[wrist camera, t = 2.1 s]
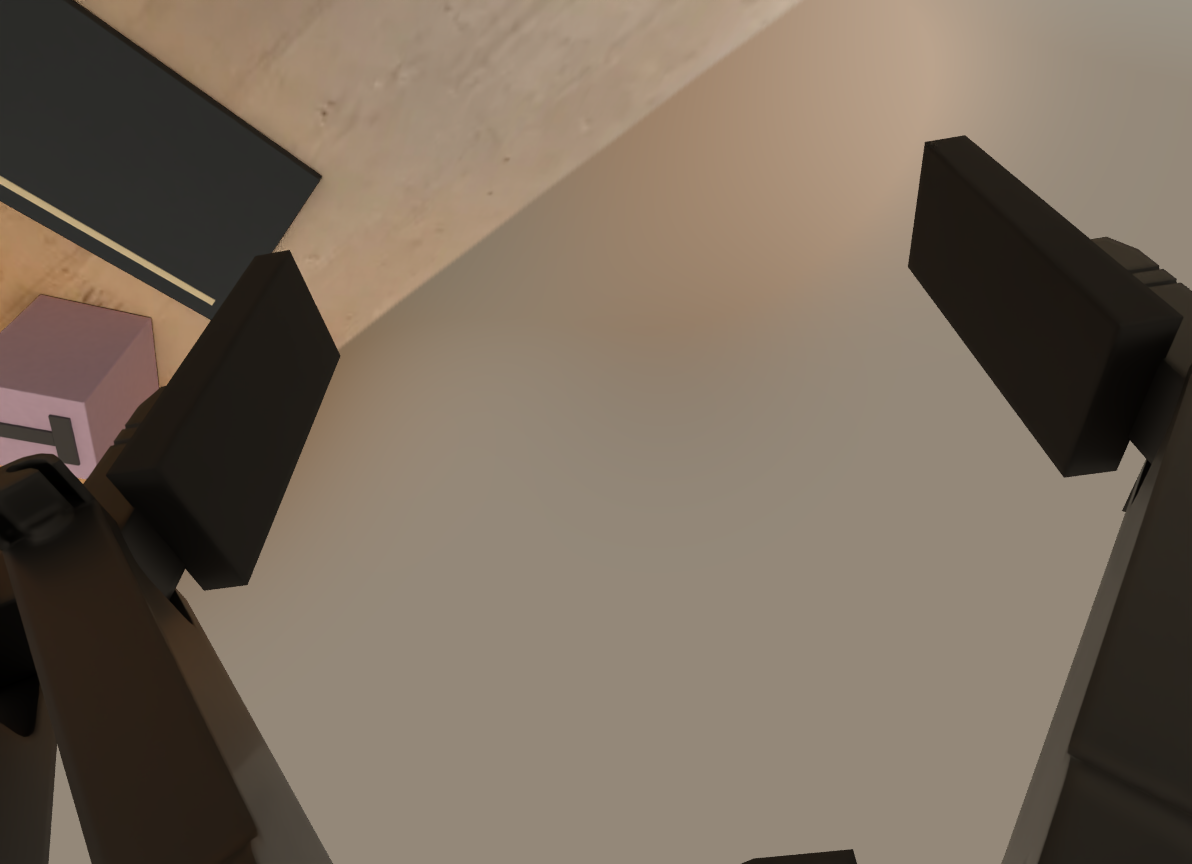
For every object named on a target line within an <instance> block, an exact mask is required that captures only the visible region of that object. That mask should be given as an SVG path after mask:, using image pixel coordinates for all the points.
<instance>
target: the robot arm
mask: <svg viewBox="0 0 1192 864" xmlns="http://www.w3.org/2000/svg"><path fill="white" fill-rule="evenodd" d="M908 268H909V269H910V270H911V272H912V273H913V274H914V276H915V277H916V278H917V280H918V281H919V282H920V284H921V285H922V286H923V288H924V289H925V290H926V292H927V293H928V295H929V296H930V297H931V299H932V300H933V301H934V303H935V304H936V305H937V307H938V308H939V309H940V311H941V312H942V313H943V315H944V316H945V318H946V319H947V320H948V321H949V323H950V324H951V326H952V327H953V328H954V329H955V331H956V332H957V334H958V335H959V336H960V338H961V339H962V340H963V341H964V343H965V345H966V346H967V347H968V349H969V350H970V351H971V353H972V354H973V355H974V357H975V358H976V359H977V361H978V362H979V363H980V365H981V366H982V367H983V369H984V370H985V371H986V373H987V374H988V376H989V377H990V378H991V380H992V381H993V382H994V384H995V385H996V386H997V388H998V389H999V390H1000V392H1001V393H1002V394H1003V396H1004V397H1005V399H1006V400H1007V401H1008V403H1009V404H1010V405H1011V407H1012V408H1013V409H1014V411H1015V412H1016V413H1017V415H1018V416H1019V417H1020V418H1021V420H1022V421H1023V423H1024V424H1025V426H1026V427H1027V428H1028V430H1029V431H1030V432H1031V434H1032V435H1033V436H1034V438H1035V439H1036V440H1037V442H1038V443H1039V444H1040V446H1041V447H1042V448H1043V450H1044V451H1045V453H1046V454H1047V455H1048V457H1049V458H1050V459H1051V461H1052V462H1053V463H1054V465H1055V466H1056V467H1057V469H1058V470H1059V471H1060V473H1061V474H1062V475H1063V477H1072V476H1079V475H1087V474H1095V473H1102V472H1110V471H1116V470H1117V468H1118V466H1119V464H1120V461H1121V459H1122V457H1123V455H1124V452H1125V450H1126V448H1127V445H1128V443H1129V441H1131V442H1132V443H1133V444H1134V445H1135V446H1136V447H1137V449H1138V450H1139V451H1140V452H1141V453H1142V454H1143V455H1144V456H1145V458H1146V461H1145V463H1144V465H1143V467H1142V469H1141V472H1140V474H1139V476H1138V478H1137V480H1136V482H1135V484H1134V487H1133V489H1132V491H1131V493H1130V495H1129V497H1128V499H1127V501H1126V504H1125V506H1124V508H1123V510H1122V511H1124V512H1126V513H1125V516H1124V518H1123V521H1122V524H1121V527H1120V530H1119V533H1118V535H1117V539H1116V541H1115V544H1114V547H1113V550H1112V553H1111V555H1110V558H1109V561H1108V564H1107V567H1106V569H1105V572H1104V575H1103V578H1102V581H1101V584H1100V587H1099V589H1098V592H1097V595H1096V598H1095V601H1094V603H1093V606H1092V609H1091V612H1090V615H1089V618H1088V621H1087V623H1086V626H1085V629H1084V632H1083V635H1082V637H1081V640H1080V643H1079V646H1078V649H1077V652H1076V654H1075V657H1074V660H1073V663H1072V666H1071V669H1070V671H1069V674H1068V677H1067V680H1066V683H1065V686H1064V689H1063V691H1062V694H1061V697H1060V700H1059V703H1058V705H1057V708H1056V711H1055V714H1054V717H1053V720H1052V722H1051V725H1050V728H1049V731H1048V734H1047V737H1046V740H1045V742H1044V745H1043V748H1042V751H1041V754H1040V756H1039V760H1038V763H1037V765H1036V768H1035V771H1034V773H1033V776H1032V780H1031V782H1030V785H1029V788H1028V790H1027V793H1026V796H1025V799H1024V802H1023V805H1022V808H1021V810H1020V813H1019V816H1018V819H1017V822H1016V825H1015V827H1014V830H1013V833H1012V836H1011V839H1010V841H1009V845H1008V847H1007V850H1006V853H1005V856H1004V858H1003V860H1002V863H1001V864H1192V291H1191V290H1190V289H1189V288H1187V287H1186V286H1184V285H1183V284H1182V283H1177V282H1176V278H1174V277H1173V276H1172V275H1171V274H1169V273H1168V272H1167V271H1165V270H1164V269H1159V265H1158V264H1156V263H1155V262H1154V261H1153V260H1151V259H1150V258H1149V257H1147V256H1146V255H1145V254H1143V253H1142V252H1141V251H1140V250H1138V249H1136V248H1134V247H1131V246H1129V245H1126V244H1124V243H1121V242H1118V241H1116V240H1113V239H1111V238H1108V237H1102V238H1096V239H1089V238H1088V237H1087V236H1086V235H1084V234H1083V233H1082V232H1081V231H1080V230H1079V229H1077V228H1076V227H1075V226H1074V225H1072V224H1071V223H1070V222H1069V221H1068V220H1067V219H1065V218H1064V217H1063V216H1062V215H1060V214H1059V213H1058V212H1057V211H1056V210H1054V209H1053V208H1052V207H1051V206H1050V205H1048V204H1047V203H1046V202H1045V201H1044V200H1042V199H1041V198H1040V197H1039V196H1038V195H1036V194H1035V193H1034V192H1033V191H1031V190H1030V189H1029V188H1028V187H1027V186H1025V185H1024V184H1023V183H1022V182H1021V181H1020V180H1018V179H1017V178H1016V177H1015V176H1013V175H1012V174H1011V173H1010V172H1009V171H1007V170H1006V169H1005V168H1004V167H1003V166H1001V165H1000V164H999V163H998V162H997V161H995V160H994V159H993V158H992V157H991V156H989V155H988V154H987V153H986V152H985V151H983V150H982V149H981V148H980V147H979V146H977V145H976V144H975V143H974V142H972V141H971V140H970V139H969V138H968V137H966V136H958V137H952V138H947V139H940V140H935V141H929V142H925V146H924V154H923V161H922V168H921V175H920V183H919V190H918V198H917V205H916V212H915V219H914V227H913V234H912V241H911V249H910V256H909V264H908ZM339 358H340V354H339V352H338V350H337V348H336V346H335V344H334V341H333V339H332V337H331V335H330V333H329V331H328V329H327V327H326V325H325V323H324V321H323V319H322V317H321V314H320V312H319V310H318V308H317V306H316V304H315V302H314V300H313V298H312V296H311V294H310V292H309V289H308V287H307V285H306V283H305V281H304V279H303V277H302V275H301V273H300V271H299V269H298V267H297V265H296V262H295V260H294V258H293V256H292V254H291V252H290V250H287V251H281V252H275V253H269V254H264V255H258V256H255V257H254V258H253V260H252V261H251V263H250V264H249V266H248V267H247V269H246V270H245V272H244V273H243V274H242V276H241V277H240V279H239V280H238V282H237V283H236V285H235V286H234V288H233V289H232V291H231V292H230V293H229V295H228V296H227V298H226V299H225V301H224V302H223V304H222V305H221V307H220V308H219V310H218V311H217V312H216V314H215V315H214V317H213V318H212V320H211V321H210V323H209V324H208V326H207V327H206V329H205V330H204V332H203V333H202V334H201V336H200V337H199V339H198V340H197V342H196V343H195V345H194V346H193V348H192V349H191V351H190V352H189V353H188V355H187V356H186V358H185V359H184V361H183V362H182V364H181V365H180V367H179V368H178V370H177V371H176V372H175V374H174V375H173V377H172V378H171V380H170V381H169V383H168V384H167V386H163V387H161V388H159V389H158V390H157V391H156V392H155V393H153V394H152V395H151V396H150V397H149V398H147V399H146V400H145V401H144V402H143V403H141V404H140V405H139V406H138V407H137V409H136V410H135V412H134V413H133V415H132V416H131V417H130V419H129V420H128V422H127V423H126V424H125V429H122V430H121V432H120V433H119V434H118V436H117V437H116V439H115V440H114V441H113V442H114V445H111V446H110V447H109V448H108V450H107V451H106V453H105V454H104V456H103V457H102V458H101V460H100V461H99V463H98V464H97V465H96V467H95V468H94V470H93V471H92V473H91V474H90V475H89V477H88V478H87V480H86V481H85V482H84V484H82V483H81V482H80V481H79V479H78V478H77V477H76V476H75V475H74V474H73V473H72V472H71V471H70V469H69V468H68V467H67V466H66V465H65V464H64V463H63V462H62V461H61V459H59V458H58V457H57V456H56V455H54V454H46V453H39V454H35V455H30V456H26V457H22V458H20V459H17V460H15V461H13V462H10V463H8V464H6V465H4V466H2V467H0V864H48V861H49V847H50V834H51V820H52V806H53V792H54V778H55V763H56V751H57V744H58V748H59V751H60V754H61V758H62V761H63V765H64V769H65V772H66V776H67V779H68V783H69V786H70V790H71V793H72V796H73V800H74V803H75V807H76V810H77V814H78V817H79V821H80V824H81V828H82V831H83V835H84V838H85V842H86V845H87V849H88V852H89V856H90V859H91V862H92V864H333V863H332V861H331V859H330V858H329V856H328V854H327V852H326V850H325V849H324V847H323V845H322V843H321V841H320V840H319V838H318V836H317V834H316V832H315V831H314V829H313V827H312V825H311V823H310V822H309V820H308V818H307V816H306V814H305V813H304V811H303V809H302V807H301V805H300V804H299V802H298V800H297V798H296V796H295V795H294V793H293V791H292V789H291V787H290V786H289V784H288V782H287V780H286V778H285V776H284V775H283V773H282V771H281V769H280V767H279V766H278V764H277V762H276V760H275V758H274V757H273V755H272V753H271V751H270V750H269V748H268V746H267V744H266V742H265V741H264V739H263V737H262V735H261V733H260V731H259V730H258V728H257V726H256V724H255V722H254V721H253V719H252V717H251V715H250V713H249V712H248V710H247V708H246V706H245V705H244V703H243V701H242V699H241V697H240V695H239V694H238V692H237V690H236V688H235V687H234V685H233V683H232V681H231V679H230V677H229V675H228V674H227V672H226V670H225V668H224V667H223V665H222V663H221V661H220V660H219V658H218V656H217V654H216V652H215V650H214V648H213V647H212V645H211V643H210V641H209V640H208V638H207V636H206V634H205V632H204V630H203V629H202V627H201V625H200V623H199V622H198V620H197V618H196V616H195V614H194V612H193V611H192V609H191V607H190V605H189V603H188V602H187V600H186V599H185V598H184V597H183V596H182V595H181V594H180V592H179V591H178V590H177V589H176V586H177V584H178V582H179V580H180V578H181V576H182V574H183V572H184V570H185V569H186V570H187V571H188V572H189V573H190V575H191V576H192V577H193V578H194V579H195V580H196V582H197V583H198V584H199V585H200V586H201V587H202V589H203V590H212V589H220V588H226V587H227V588H228V587H235V586H243V585H248V582H249V580H250V577H251V575H252V572H253V570H254V567H255V565H256V563H257V560H258V558H259V555H260V553H261V550H262V548H263V545H264V543H265V540H266V538H267V535H268V533H269V530H270V528H271V526H272V523H273V521H274V518H275V515H276V513H277V511H278V508H279V506H280V503H281V501H282V498H283V496H284V493H285V491H286V488H287V486H288V484H289V481H290V479H291V476H292V474H293V471H294V469H295V466H296V464H297V461H298V459H299V456H300V454H301V452H302V449H303V447H304V444H305V442H306V439H307V437H308V434H309V432H310V429H311V427H312V424H313V422H314V420H315V417H316V415H317V412H318V410H319V407H320V405H321V402H322V400H323V397H324V395H325V392H326V390H327V387H328V385H329V382H330V380H331V377H332V375H333V372H334V370H335V368H336V365H337V363H338V360H339ZM742 864H857V862H856V859H855V855H854V851H853V849H851V850H840V851H830V852H820V853H808V854H798V855H787V856H777V857H766V858H755V859H752V860H749V861H747V862H744V863H742Z"/></svg>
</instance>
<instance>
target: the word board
mask: <svg viewBox="0 0 1192 864" xmlns="http://www.w3.org/2000/svg"><path fill="white" fill-rule="evenodd" d="M321 178H322V176H321V175H319V174H318V173H316V172H315V171H314V170H312V169H311V168H309V167H308V166H306V165H305V164H304V163H302V162H301V161H299V160H298V159H297V158H295V157H294V156H292V155H291V154H289V153H288V152H287V151H285V150H284V149H282V148H281V147H280V146H278V145H277V144H275V143H274V142H273V141H271V140H270V139H268V138H267V137H265V136H264V135H263V134H261V133H260V132H258V131H257V130H256V129H254V128H253V127H251V126H250V125H248V124H247V123H246V122H244V121H243V120H241V119H240V118H239V117H237V116H236V115H234V114H233V113H232V112H230V111H229V110H227V109H226V108H224V107H223V106H222V105H220V104H219V103H217V102H216V101H215V100H213V99H212V98H210V97H209V96H207V95H206V94H205V93H203V92H202V91H200V90H199V89H198V88H196V87H195V86H193V85H192V84H191V83H189V82H188V81H186V80H185V79H183V78H182V77H181V76H179V75H178V74H176V73H175V72H174V71H172V70H171V69H169V68H168V67H167V66H165V65H164V64H162V63H161V62H159V61H158V60H157V59H155V58H154V57H152V56H151V55H150V54H148V53H147V52H145V51H144V50H142V49H141V48H140V47H138V46H137V45H135V44H134V43H133V42H131V41H130V40H128V39H127V38H126V37H124V36H123V35H121V34H120V33H118V32H117V31H116V30H114V29H113V28H111V27H110V26H109V25H107V24H106V23H104V22H103V21H101V20H100V19H99V18H97V17H96V16H94V15H93V14H92V13H90V12H89V11H87V10H86V9H85V8H83V7H82V6H80V5H79V4H77V3H76V2H75V1H73V0H0V201H1V202H3V203H4V204H6V205H8V206H10V207H12V208H13V209H15V210H17V211H19V212H20V213H22V214H24V215H26V216H27V217H29V218H31V219H33V220H35V221H36V222H38V223H40V224H42V225H43V226H45V227H47V228H49V229H51V230H52V231H54V232H56V233H58V234H59V235H61V236H63V237H65V238H66V239H68V240H70V241H72V242H74V243H75V244H77V245H79V246H81V247H82V248H84V249H86V250H88V251H89V252H91V253H93V254H95V255H97V256H98V257H100V258H102V259H104V260H105V261H107V262H109V263H111V264H113V265H114V266H116V267H118V268H120V269H121V270H123V271H125V272H127V273H128V274H130V275H132V276H134V277H136V278H137V279H139V280H141V281H143V282H144V283H146V284H148V285H150V286H152V287H153V288H155V289H157V290H159V291H160V292H162V293H164V294H166V295H167V296H169V297H171V298H173V299H175V300H176V301H178V302H180V303H182V304H183V305H185V306H187V307H189V308H191V309H192V310H194V311H196V312H198V313H199V314H201V315H203V316H205V317H206V318H208V319H210V320H212V318H213V317H214V315H215V314H216V312H217V311H218V310H219V308H220V307H221V305H222V304H223V302H224V301H225V299H226V298H227V296H228V295H229V293H230V292H231V291H232V289H233V288H234V286H235V285H236V283H237V282H238V280H239V279H240V277H241V276H242V274H243V273H244V272H245V270H246V269H247V267H248V266H249V264H250V263H251V261H252V260H253V258H254V257H255V256H258V255H264V254H269V253H272V252H273V250H274V249H275V247H276V246H277V244H278V243H279V241H280V240H281V238H282V237H283V235H284V234H285V232H286V231H287V229H288V228H289V226H290V225H291V223H292V222H293V220H294V219H295V217H296V216H297V214H298V213H299V211H300V210H301V208H302V207H303V205H304V204H305V202H306V201H307V199H308V198H309V196H310V195H311V193H312V192H313V190H314V189H315V187H316V186H317V184H318V182H319V181H320V179H321Z"/></svg>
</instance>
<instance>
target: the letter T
mask: <svg viewBox="0 0 1192 864" xmlns="http://www.w3.org/2000/svg"><path fill="white" fill-rule="evenodd" d="M158 389H159V385H158V376H157V367H156V358H155V349H154V340H153V331H152V322H151V318H148V317H143V316H139V315H134V314H129V313H125V312H120V311H115V310H111V309H106V308H101V307H97V306H92V305H87V304H83V303H78V302H73V301H69V300H64V299H59V298H55V297H50V296H45V295H39V296H38V297H37V298H36V299H35V300H34V301H33V302H32V303H31V304H30V305H29V306H28V307H27V308H26V309H25V310H23V311H22V312H21V313H20V314H19V315H18V316H17V317H16V318H15V319H14V320H13V321H12V322H11V323H10V324H9V325H8V326H7V327H6V328H5V329H4V330H2V331H1V332H0V465H6V464H8V463H10V462H13V461H15V460H17V459H20V458H22V457H26V456H30V455H35V454H39V453H46V454H54V455H56V456H57V457H58V458H59V459H61V461H62V462H63V463H64V464H65V465H66V466H67V467H68V468H69V469H70V471H71V472H72V473H73V474H74V475H75V476H76V477H77V478H82V479H87V478H88V477H89V475H90V474H91V473H92V471H93V470H94V468H95V467H96V465H97V464H98V463H99V461H100V460H101V458H102V457H103V456H104V454H105V453H106V451H107V450H108V448H109V447H110V446H111V445H114V442H113V441H114V440H115V439H116V437H117V436H118V434H119V433H120V432H121V430H122V429H125V424H126V423H127V422H128V420H129V419H130V417H131V416H132V415H133V413H134V412H135V410H136V409H137V407H138V406H139V405H140V404H141V403H143V402H144V401H145V400H146V399H147V398H149V397H150V396H151V395H152V394H153V393H155V392H156V391H157V390H158Z"/></svg>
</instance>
